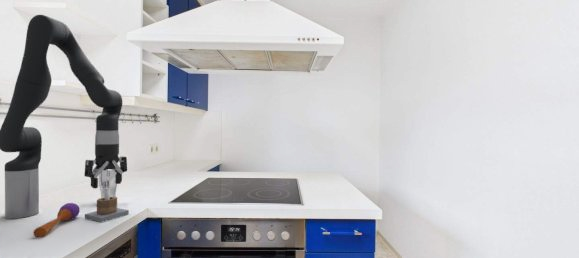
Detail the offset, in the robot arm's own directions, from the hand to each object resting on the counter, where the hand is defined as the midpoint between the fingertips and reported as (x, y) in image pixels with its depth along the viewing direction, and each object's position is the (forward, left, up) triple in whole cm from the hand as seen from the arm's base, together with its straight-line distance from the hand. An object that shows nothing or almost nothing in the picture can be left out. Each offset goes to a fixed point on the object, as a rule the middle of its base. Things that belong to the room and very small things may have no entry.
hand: (106, 185), depth 104 cm
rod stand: (0, 0, -11) cm, 11 cm away
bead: (0, 0, -10) cm, 10 cm away
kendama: (-5, -13, -12) cm, 18 cm away
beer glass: (-17, +11, -12) cm, 23 cm away
